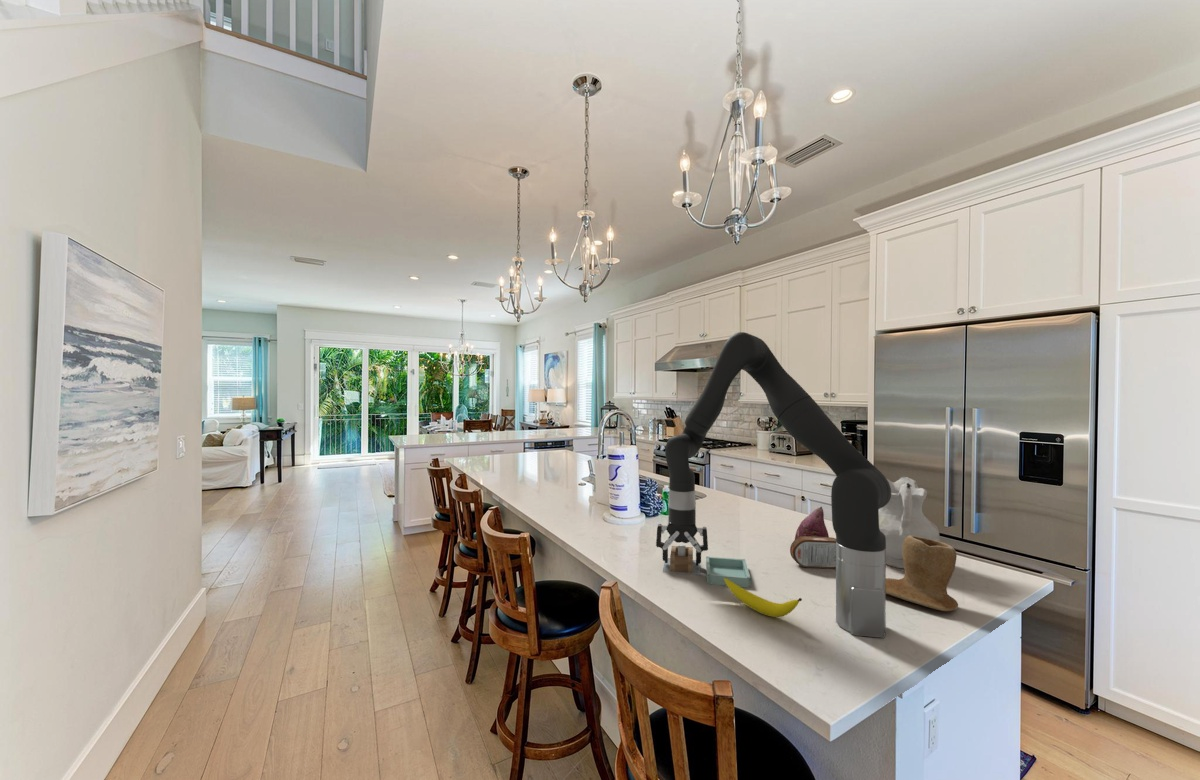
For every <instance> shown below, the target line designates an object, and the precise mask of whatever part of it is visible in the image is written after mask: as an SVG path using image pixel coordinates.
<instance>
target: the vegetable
mask: <svg viewBox="0 0 1200 780" xmlns="http://www.w3.org/2000/svg"><path fill="white" fill-rule="evenodd" d="M824 513H825V512H824V509H823V506H820V507H817V508H815V509H814V510H813V511H812V512H811V513H810V514H808V515H807V516H806V517H805V518H804V519H803V520H802V521H801V522H800V523H799V526H798V527H797V528H796V529H797V530H796V531H795V537H794V540H795V539H797V538H799V537H802V536H811V537H830V536H829V532H828V529H827V525H826V523H825V518H824V516H825V514H824Z"/></svg>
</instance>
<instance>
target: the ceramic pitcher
mask: <svg viewBox="0 0 1200 780" xmlns="http://www.w3.org/2000/svg"><path fill="white" fill-rule="evenodd" d="M886 479H887V480H888V482H889V484H890V487H891V498H890V501H889V502H888V504H887V505H885V506H884V507H882V508H880V509H879V529H880V531H881V532H882V533H883V534H884V535H885V538H886V565H887V566H890V567H893V568H895V569H896V568H897V569H904V563H903V556H902V548H903V542H904V540H905V538H906V537H907V536H909V535H912V536H917V537H923V538H927V539H932V540H935V541H939V542H940V531H939V528H938V526H937V525H936V524H935V523H934V522H933V521H931V520H930V519H928V517H926V516H925V515H924V512H923V504H924V501H925V500H926V497H927V496H928V491H927V489H925V488H922V487H919V486H918V484H917V480H915V479H912V478H910V477H907V476H903V475H901V476H900V477H899V479H897V480H896V481H891V480H890V479H888V478H887V477H886Z"/></svg>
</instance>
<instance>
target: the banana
mask: <svg viewBox="0 0 1200 780" xmlns="http://www.w3.org/2000/svg"><path fill="white" fill-rule="evenodd" d="M724 580H725V583H726V584H727V585H726V586H727V589H729V590H730V591H731V593H732V595H733V596H735V597H736V599H738V600H739V601H740V602H742V603H743V604H745V605H746V606H748V607H749V608H750V609H752V610H754V611H756V613H757V612H758V613H760V614H762V615H764V616H768V617H771V618H772V617H773V618H782V617H785V616H787V615H788V614H790V613H792V611H794V610H795V609H796V607H797V606H798V604H799V603H800V602H801V601H802V598H801V597H800V598H799V599H792V600H788V601H786V602H781V603H777V602H773V601H770V600H767V599H764V598H762V597H760V596H758V595H756V594H754V593H752V592H750V591H748V590H747V589H745V588H744V587H740V586H738V585H736V584H735V583H733V582H732V581H730V580H728V579H726V578H724Z"/></svg>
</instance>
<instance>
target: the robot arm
mask: <svg viewBox="0 0 1200 780" xmlns="http://www.w3.org/2000/svg"><path fill="white" fill-rule="evenodd" d="M741 371H744V372H746V373H747V374H748V375H749V376H750V377H751V378H752V379H754V381H755V382H756V383H757V384H758V385H759V387H760V388H761V389H762V391H763V393H764V394H765V396H766V399H767V401H768V404H769V407H770V409H771V411H772V413H773V414H774V416H775V418H776V419H777V420H778V422H779V423H780V424H781V426H782V427H783V428H784V429H785V430H786V432H787V433H788V434H789V436H791V437H792V438H793V439H794V440H795V441H796V442H798V443H799V444H800V445H801V446H802V447H805V448H806V449H807V450H808V451H810V452H812V454H814V455H816V456H817V457H818V458H820V459H821V460H822V461H824V463H825V464H826V465H827V466H828V467H829V468H830V469H831V471H832V472H833V473H834V475H835V476H836V477H835V478H834V480H833V481H832V485H831V490H830V491H831V494H830V500H831V501H830V503H831V504H830V505H831V524H832V528H833V531H834V533H835V538H836V569H835V622H836V624H837V625H838V626H839V627H840V628H842V629H843V630H845V631H847V632H849V633H850V634H851V635H853V636H862V637H863V636H865V637H872V638H882V639H884V638H885V634H886V631H887V630H886V628H887V625H886V622H887V621H886V620H887V619H886V618H887V616H886V615H887V611H886V608H887V607H886V604H887V603H886V601H887V600H886V599H887V597H886V596H887V595H886V578H887V577H886V576H887V575H886V572H887V571H886V565H887V564H886V538H885V535H884V534H883V533H882V532H881V531H880V529H879V509H880V508H882V507H884V506H885V505H887V504H888V502H889V501H890V498H891V487H890V484H889V482H888V480H889V479H888V478H887V477H886V476H885V475H884V474H883V473H882V472H881V470H879V469H878V467H876V466H875V465H874V464H873V463H872V462H871V461H870V460H869V459H868V458H866V457H865V456H864V455H863V454H862V453H861V452H860V451H859V450H857V448H856V447H855V446H853V444H852V443H851V442H850V441H849V440H848V439H847V438H846V436H845V435H844V434H843V432H841V430H840V429H839V427H837V426H836V424H835V423H834V422H833V421H832V419H831V418H830V417H829V416H828V414H826V413H825V411H824V410H823V409H822V407H821V406H820V405H819V404H818V403H817V402H816V401H815V400H814V399H813V398H812V396H811V395H810V394H809V393H808V392H807V391H806V390H805V389H804V388H803V387H802V385H800V384H799V383H798V382H797V380H795V379H794V378H793V377H792V375H790V374H789V373H788V372H787V371H786V370H785V369H784V367H783V365H782V364H780V362H779V361H778V359H777V358H776V356H775V355H774V353H773V351H772V350H771V348H770V347H769V346H768V344H767V343H766V342H765V341H764V340H763V339H761V338H759V337H758V336H756V335H753V334H751V333H748V332H743V331H742V332H741V331H740V332H735V333H734V334H732V335H730V336H729V337H728V338H727V340H726V341H725V343H724V345H723V346H722V349H721V351H720V353H719V355H718V358H717V360H716V362H715V365H714V367H713V368H712V371H711V372H710V373H711V374H710V376H709V378H708V380H707V382H706V384H705V386H704V388H703V390H702V392H701V394H700V395H699V397H698V399H697V400H696V402H695V403H694V404H693V406H692V408H691V409H690V411H689V412H688V414H687V416H686V418H685V419H684V424H685V427H684V428H683V431H682V432H681V433H680V434H677V435H673V436H671V437H669V438H668V440H667V442H666V443H665V448H664V449H665V451H664V453H665V454H664V455H665V462H666V464H667V470H668V473H669V478H668V480H669V481H668V482H669V488H668V489H669V491H668V500H667V501H668V502H667V503H668V509H667V511H668V514H667V515H668V523H667V525H662V524H661V523H658V524H657V529H656V541H655V546H656V548H660V549H661V550H662V561H663V562H664V561H665V563H668V558H669V547H670V546H672V544H673V542H675V543H678V544H679V543H683V544H688V543H690V544H691V547H693V549H694V550H695V560H696V566H699V564H700V565H701V563H702V552H705V551H708V550H709V545H708V544H709V543H708V528H707V526H703V527H697V524H696V523H697V522H696V518H697V515H696V511H697V509H696V505H697V502H696V501H697V500H696V499H697V498H696V491H695V489H696V487H695V486H696V485H695V484H696V482H695V481H696V480H695V479H696V475H695V472H694V470H692V468H690V462H689V461H690V460H689V459H691V458H693V457H695V455H697V454H698V452H699V450H700V449H701V448H702V446H703V443H704V441H705V440H706V437H707V434H708V432H709V431H710V429H711V428H712V427H713V426H714V424H715V422H716V420H717V419H718V417H719V416H720V414H721V412H722V410H723V407H724V405H725V401H726V397H727V393H728V391H729V388H730V386H731V384H732V382H733V381H734V380H735V378H736V377H737V376H738V374H739V373H740V372H741ZM886 478H887V479H888V480H887V479H886ZM665 531H667V533H668V534H669V536H668V537H667V538H666V540H665V541H664V542H662V535H663V534H664V533H665ZM697 533H699V535H700V536H701V537H702V544H700V543H699V542H698V540H697V539H696V538H695V536H696V534H697Z"/></svg>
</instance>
